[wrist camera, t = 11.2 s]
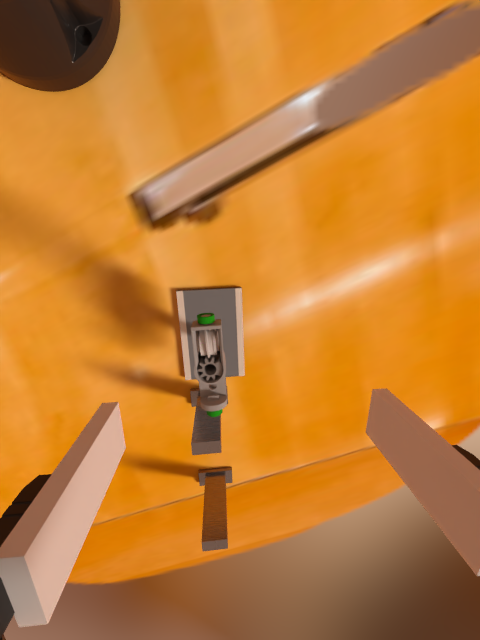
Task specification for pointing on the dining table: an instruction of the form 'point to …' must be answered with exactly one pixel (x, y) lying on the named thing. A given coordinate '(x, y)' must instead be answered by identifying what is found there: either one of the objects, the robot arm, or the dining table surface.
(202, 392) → the mechanical component
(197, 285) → the dining table surface
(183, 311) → the mat
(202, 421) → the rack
